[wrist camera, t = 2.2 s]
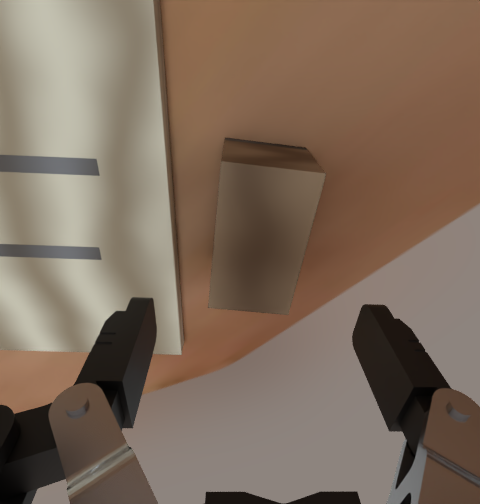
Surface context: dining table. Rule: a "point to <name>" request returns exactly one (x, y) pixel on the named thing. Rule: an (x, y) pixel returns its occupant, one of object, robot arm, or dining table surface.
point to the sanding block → (262, 224)
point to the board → (84, 173)
